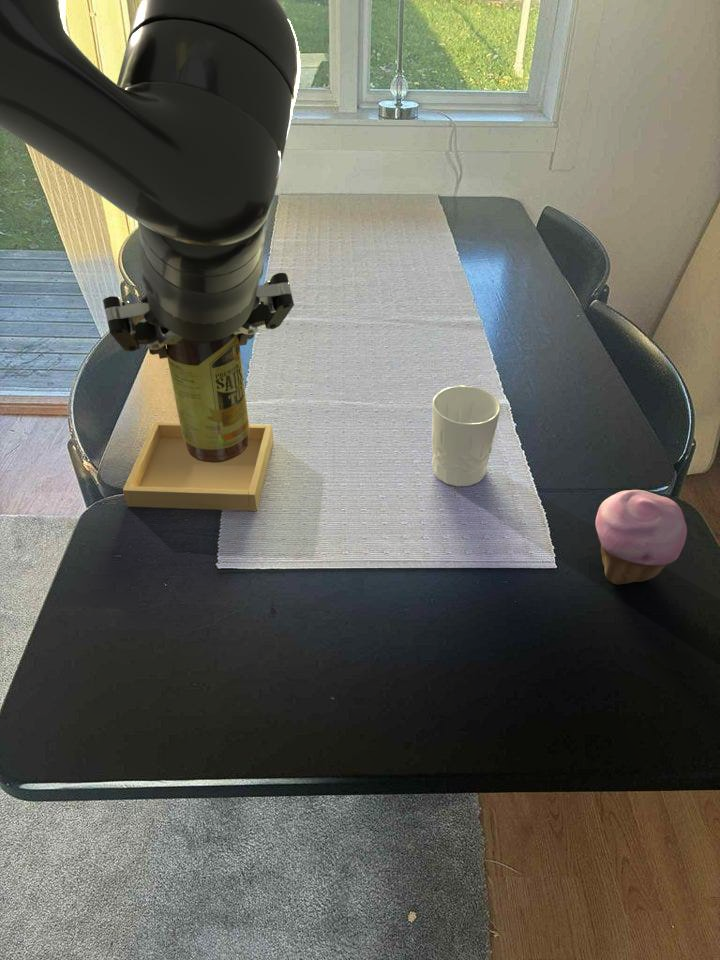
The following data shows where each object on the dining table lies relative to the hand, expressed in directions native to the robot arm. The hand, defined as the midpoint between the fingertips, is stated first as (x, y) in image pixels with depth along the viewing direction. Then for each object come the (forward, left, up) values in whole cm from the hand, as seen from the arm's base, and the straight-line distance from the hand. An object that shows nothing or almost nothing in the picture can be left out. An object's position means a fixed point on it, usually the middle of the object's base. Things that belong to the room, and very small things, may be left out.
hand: (200, 340), depth 61 cm
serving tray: (-6, +12, -26) cm, 29 cm away
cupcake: (+43, -2, -26) cm, 50 cm away
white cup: (+26, +14, -26) cm, 39 cm away
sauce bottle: (+1, -2, -11) cm, 11 cm away
